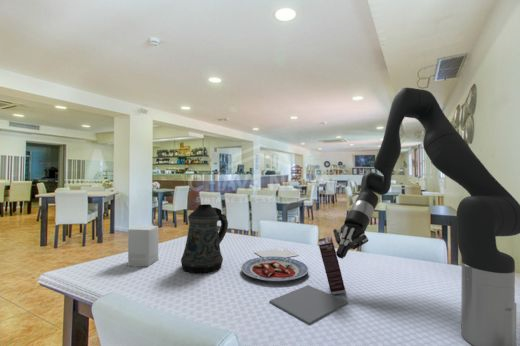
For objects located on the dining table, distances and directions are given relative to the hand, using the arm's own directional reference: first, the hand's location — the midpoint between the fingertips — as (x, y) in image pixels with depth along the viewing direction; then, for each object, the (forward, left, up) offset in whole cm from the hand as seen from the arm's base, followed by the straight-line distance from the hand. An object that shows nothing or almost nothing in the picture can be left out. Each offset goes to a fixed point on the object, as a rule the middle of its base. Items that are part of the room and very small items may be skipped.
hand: (339, 256), depth 87 cm
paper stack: (+45, -15, -11) cm, 49 cm away
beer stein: (+48, +24, -11) cm, 55 cm away
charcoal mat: (+1, +15, -11) cm, 18 cm away
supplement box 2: (+67, +42, -11) cm, 80 cm away
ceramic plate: (+25, +6, -11) cm, 28 cm away
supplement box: (0, +1, -10) cm, 10 cm away
